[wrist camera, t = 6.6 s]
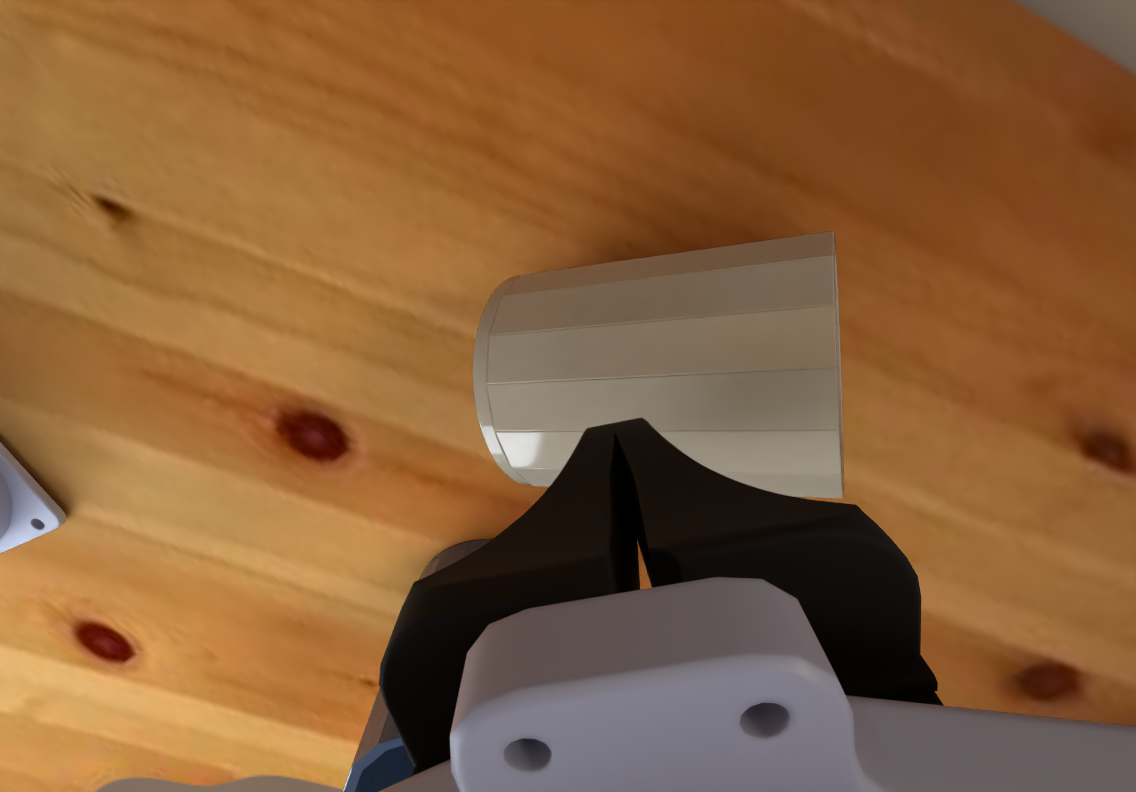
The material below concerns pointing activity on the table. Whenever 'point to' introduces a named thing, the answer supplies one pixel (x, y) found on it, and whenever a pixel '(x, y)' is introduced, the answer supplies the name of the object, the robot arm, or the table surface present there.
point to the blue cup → (381, 744)
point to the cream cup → (673, 362)
